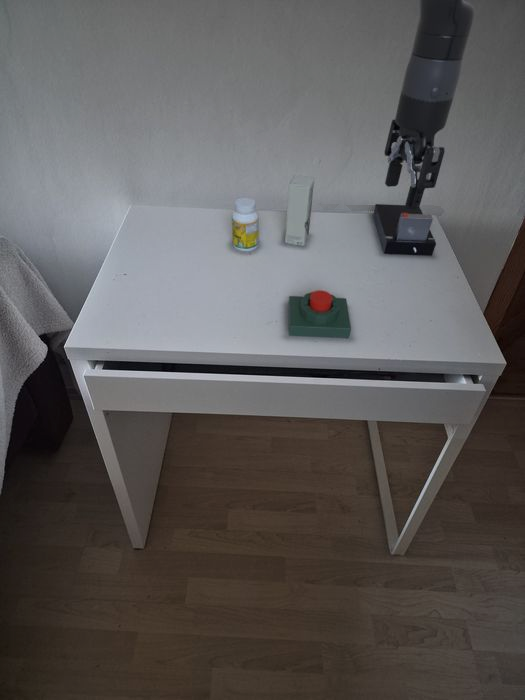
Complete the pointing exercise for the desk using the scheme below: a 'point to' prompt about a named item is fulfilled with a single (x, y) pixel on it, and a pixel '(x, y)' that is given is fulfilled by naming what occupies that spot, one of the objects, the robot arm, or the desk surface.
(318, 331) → the button box
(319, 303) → the button
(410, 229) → the grey and red bar
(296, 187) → the box
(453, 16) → the robot arm
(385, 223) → the black rectangular base
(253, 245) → the supplement bottle
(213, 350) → the desk surface
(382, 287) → the desk surface
